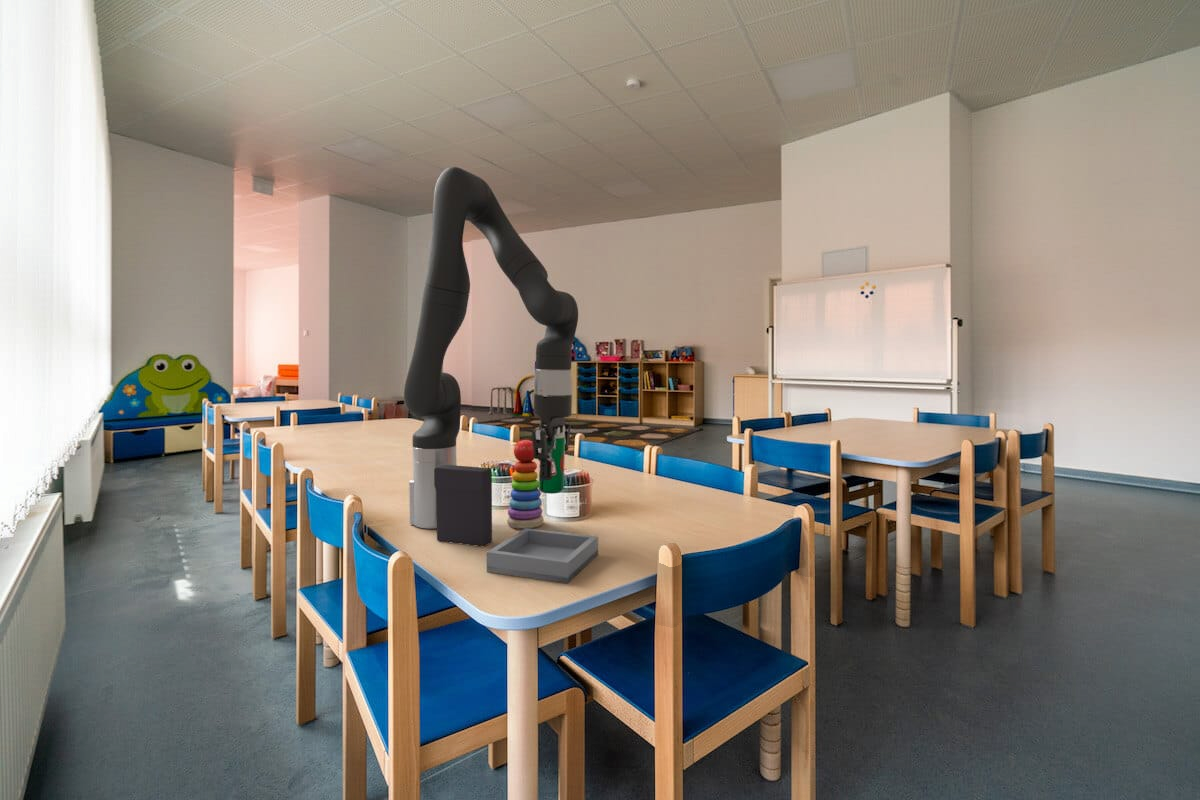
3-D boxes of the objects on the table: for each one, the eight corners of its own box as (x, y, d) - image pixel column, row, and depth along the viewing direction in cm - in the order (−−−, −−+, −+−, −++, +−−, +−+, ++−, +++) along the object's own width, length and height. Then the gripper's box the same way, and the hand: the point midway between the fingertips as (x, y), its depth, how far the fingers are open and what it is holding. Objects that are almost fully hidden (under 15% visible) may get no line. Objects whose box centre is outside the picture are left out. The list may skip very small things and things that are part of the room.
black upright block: (494, 541, 118) (493, 467, 116) (483, 548, 113) (482, 471, 112) (447, 535, 121) (446, 463, 120) (434, 541, 117) (433, 467, 116)
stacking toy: (550, 526, 128) (550, 441, 127) (517, 532, 124) (516, 443, 123) (533, 518, 135) (533, 436, 134) (501, 523, 130) (500, 439, 129)
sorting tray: (486, 571, 101) (486, 552, 101) (525, 545, 115) (525, 528, 115) (567, 583, 96) (567, 562, 96) (598, 554, 110) (598, 536, 110)
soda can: (533, 491, 117) (534, 431, 116) (549, 487, 122) (550, 429, 121) (553, 495, 115) (554, 434, 114) (568, 490, 119) (570, 431, 118)
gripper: (550, 389, 124) (548, 469, 126) (519, 393, 111) (518, 482, 112) (583, 391, 122) (581, 472, 123) (556, 395, 108) (554, 486, 110)
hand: (551, 476), depth 118 cm, fingers closed on soda can, 5 cm apart
